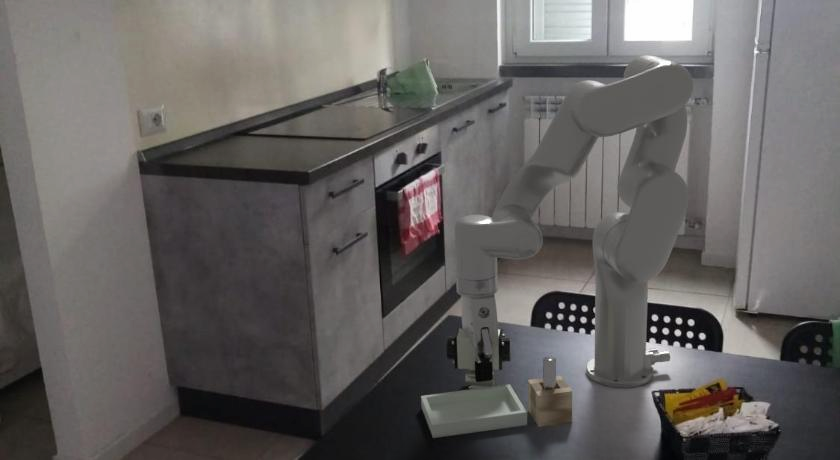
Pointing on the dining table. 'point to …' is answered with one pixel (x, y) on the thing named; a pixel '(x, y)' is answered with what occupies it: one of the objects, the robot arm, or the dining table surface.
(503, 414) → the tray
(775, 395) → the dining table surface
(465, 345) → the pneumatic valve
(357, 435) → the dining table surface
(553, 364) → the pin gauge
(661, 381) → the dining table surface
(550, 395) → the bore block
